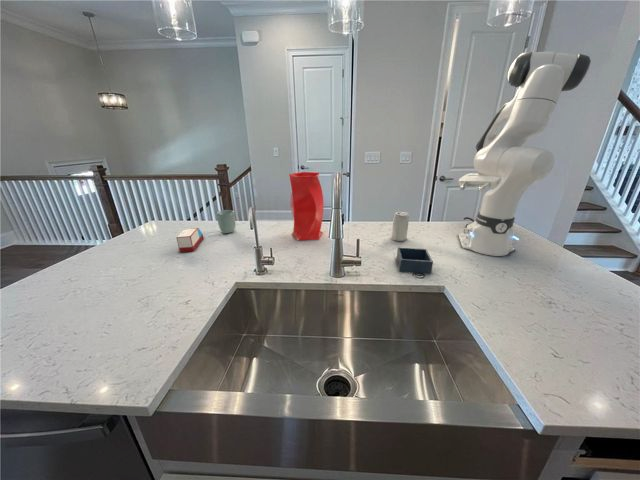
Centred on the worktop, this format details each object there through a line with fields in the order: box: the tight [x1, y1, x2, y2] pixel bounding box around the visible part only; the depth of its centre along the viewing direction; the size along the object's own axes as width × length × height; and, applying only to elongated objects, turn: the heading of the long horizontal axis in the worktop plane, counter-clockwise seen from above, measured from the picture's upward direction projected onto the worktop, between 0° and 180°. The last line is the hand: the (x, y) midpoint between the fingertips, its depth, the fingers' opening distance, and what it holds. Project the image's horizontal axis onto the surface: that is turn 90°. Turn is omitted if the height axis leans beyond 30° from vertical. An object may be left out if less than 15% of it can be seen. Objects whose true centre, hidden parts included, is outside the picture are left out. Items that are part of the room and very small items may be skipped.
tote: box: [396, 247, 434, 275], centre depth 91 cm, size 10×10×5 cm
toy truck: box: [176, 227, 204, 253], centre depth 111 cm, size 6×15×7 cm, turn 8°
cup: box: [216, 209, 237, 234], centre depth 125 cm, size 8×8×10 cm
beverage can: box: [391, 211, 410, 242], centre depth 113 cm, size 6×6×12 cm
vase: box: [288, 171, 324, 241], centre depth 115 cm, size 15×14×28 cm
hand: (470, 189), depth 126 cm, fingers open, 8 cm apart
